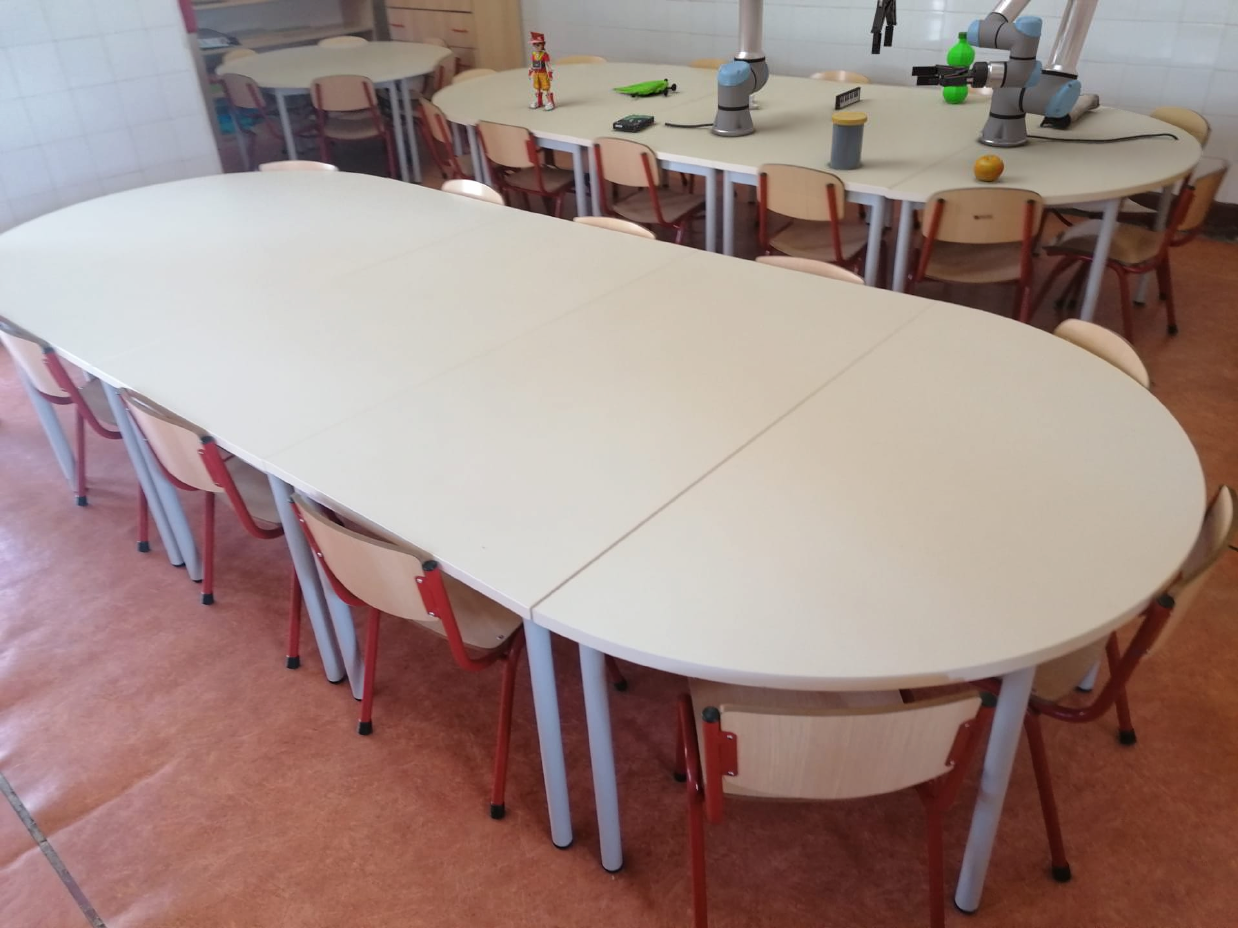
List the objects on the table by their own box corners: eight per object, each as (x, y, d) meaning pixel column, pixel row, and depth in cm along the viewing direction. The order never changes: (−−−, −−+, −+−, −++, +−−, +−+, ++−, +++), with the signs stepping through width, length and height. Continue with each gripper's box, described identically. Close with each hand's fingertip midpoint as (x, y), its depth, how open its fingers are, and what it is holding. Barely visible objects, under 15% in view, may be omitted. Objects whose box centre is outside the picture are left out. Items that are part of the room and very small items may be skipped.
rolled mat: (1067, 99, 337) (1091, 81, 329) (1080, 119, 338) (1105, 102, 330) (1036, 120, 320) (1061, 102, 312) (1050, 141, 321) (1075, 124, 312)
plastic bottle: (973, 101, 354) (984, 32, 339) (955, 106, 349) (966, 36, 335) (952, 97, 361) (962, 29, 346) (934, 102, 356) (944, 33, 342)
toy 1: (525, 109, 381) (517, 32, 364) (534, 104, 388) (527, 28, 371) (550, 110, 377) (543, 32, 360) (559, 105, 384) (553, 28, 367)
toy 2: (686, 85, 398) (631, 84, 414) (685, 72, 395) (629, 72, 411) (651, 104, 381) (596, 103, 397) (650, 92, 378) (594, 91, 394)
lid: (839, 127, 283) (840, 121, 282) (825, 118, 292) (826, 113, 291) (873, 123, 284) (873, 118, 283) (857, 115, 293) (858, 109, 293)
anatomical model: (725, 81, 368) (749, 74, 367) (729, 106, 374) (753, 100, 373) (732, 89, 356) (756, 82, 355) (736, 115, 362) (760, 109, 361)
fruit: (968, 171, 273) (986, 147, 270) (968, 173, 280) (985, 150, 277) (991, 186, 271) (1009, 163, 268) (990, 188, 279) (1008, 165, 276)
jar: (836, 170, 291) (841, 122, 283) (825, 162, 299) (828, 115, 291) (865, 167, 293) (870, 119, 284) (852, 159, 301) (857, 112, 292)
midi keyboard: (837, 109, 354) (838, 96, 352) (834, 109, 355) (835, 95, 352) (859, 100, 365) (861, 87, 362) (857, 99, 366) (858, 86, 363)
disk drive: (635, 133, 342) (654, 123, 352) (635, 125, 340) (654, 115, 350) (612, 130, 346) (632, 120, 356) (612, 123, 345) (631, 113, 355)
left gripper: (889, -14, 286) (881, 58, 298) (910, -24, 303) (902, 44, 315) (865, -14, 289) (859, 57, 301) (888, -25, 306) (881, 43, 318)
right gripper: (991, 97, 267) (917, 98, 270) (977, 79, 287) (908, 80, 290) (995, 70, 263) (920, 71, 266) (981, 53, 283) (911, 55, 286)
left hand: (881, 50), depth 308 cm, fingers open, 13 cm apart
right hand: (914, 76), depth 278 cm, fingers open, 13 cm apart
